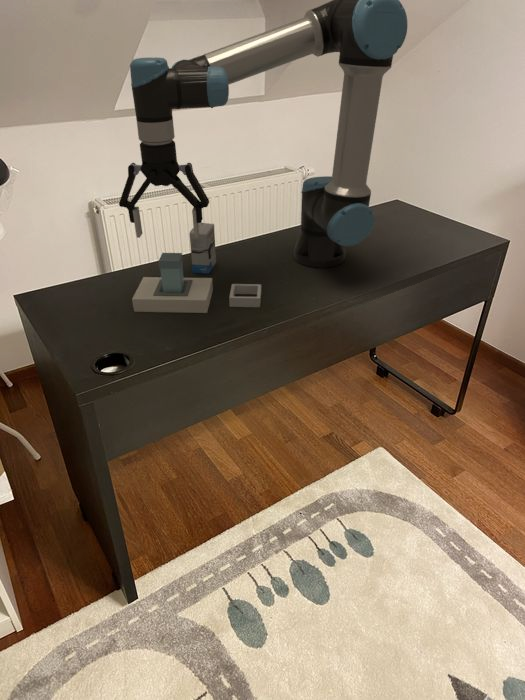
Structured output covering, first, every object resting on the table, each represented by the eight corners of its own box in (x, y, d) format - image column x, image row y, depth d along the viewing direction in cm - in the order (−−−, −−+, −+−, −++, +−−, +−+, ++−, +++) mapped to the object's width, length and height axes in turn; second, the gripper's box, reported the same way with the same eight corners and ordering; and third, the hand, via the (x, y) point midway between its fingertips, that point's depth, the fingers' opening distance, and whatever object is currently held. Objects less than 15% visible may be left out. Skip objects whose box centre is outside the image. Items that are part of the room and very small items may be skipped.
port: (212, 290, 138) (212, 277, 136) (207, 312, 128) (206, 299, 126) (145, 289, 138) (143, 276, 136) (134, 311, 128) (131, 297, 126)
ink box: (208, 274, 146) (206, 234, 139) (191, 273, 147) (188, 232, 140) (217, 262, 153) (214, 223, 146) (200, 260, 153) (198, 221, 147)
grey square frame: (261, 293, 136) (261, 284, 135) (260, 307, 130) (260, 298, 129) (232, 292, 137) (231, 283, 135) (229, 306, 130) (229, 297, 129)
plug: (186, 296, 135) (181, 252, 128) (183, 305, 131) (178, 261, 124) (167, 296, 135) (162, 252, 128) (163, 305, 131) (158, 260, 125)
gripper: (217, 136, 114) (222, 230, 126) (104, 137, 115) (120, 229, 127) (213, 144, 108) (219, 242, 120) (94, 145, 109) (111, 241, 121)
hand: (168, 235), depth 124 cm, fingers open, 13 cm apart
